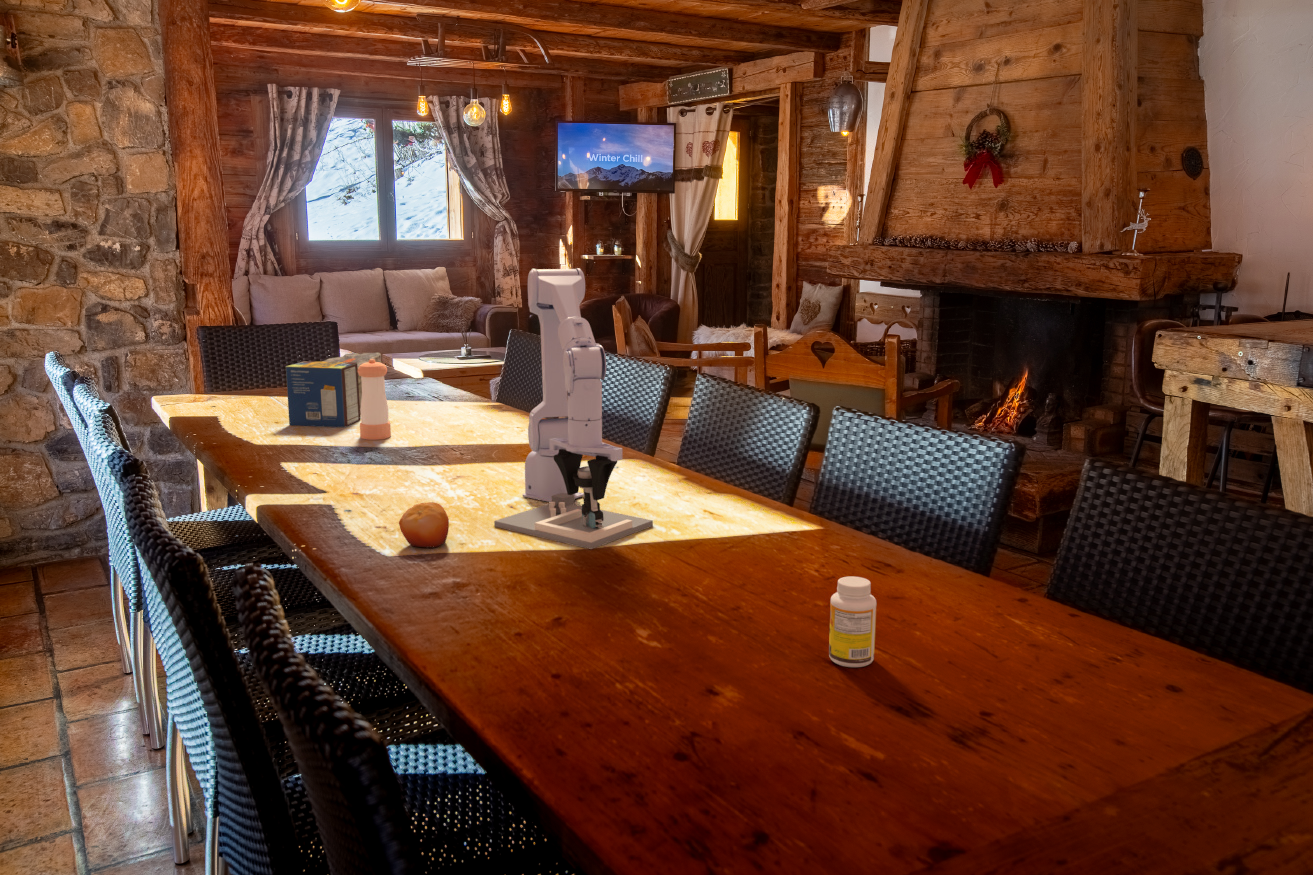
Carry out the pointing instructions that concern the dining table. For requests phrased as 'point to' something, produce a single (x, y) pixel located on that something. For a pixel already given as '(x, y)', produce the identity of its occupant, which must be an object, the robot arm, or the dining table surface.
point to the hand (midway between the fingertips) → (585, 496)
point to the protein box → (323, 394)
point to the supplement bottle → (852, 623)
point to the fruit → (425, 525)
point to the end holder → (552, 527)
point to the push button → (588, 499)
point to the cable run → (560, 503)
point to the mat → (570, 525)
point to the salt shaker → (373, 402)
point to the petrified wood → (360, 360)
